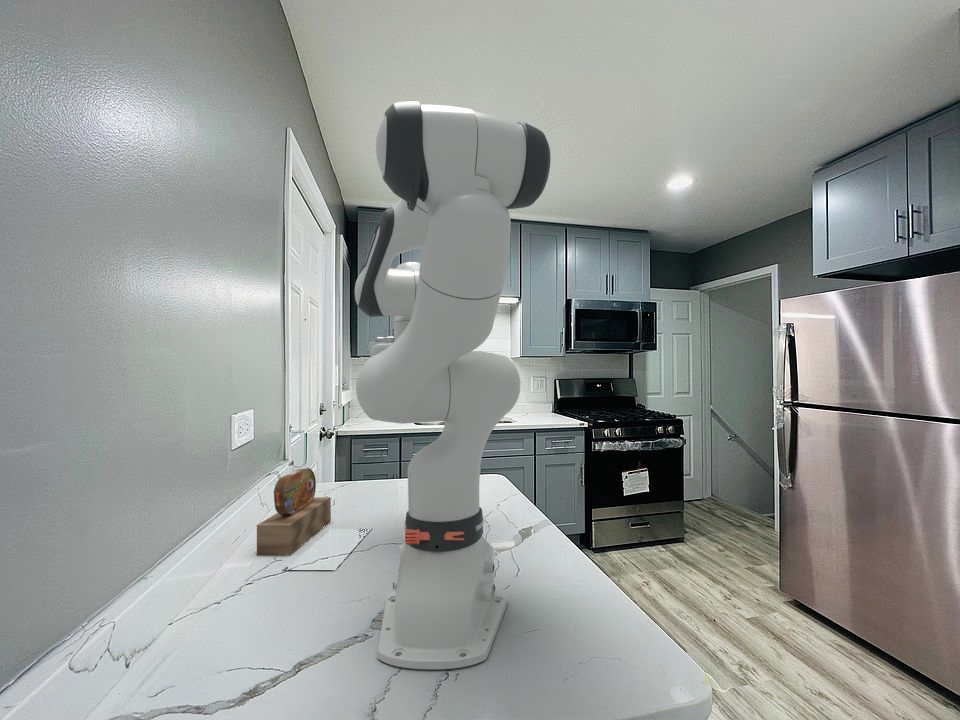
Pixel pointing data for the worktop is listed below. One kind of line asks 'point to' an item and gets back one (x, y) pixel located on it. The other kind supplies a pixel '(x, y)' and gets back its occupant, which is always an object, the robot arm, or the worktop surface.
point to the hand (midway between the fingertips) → (414, 396)
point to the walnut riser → (292, 528)
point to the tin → (294, 491)
